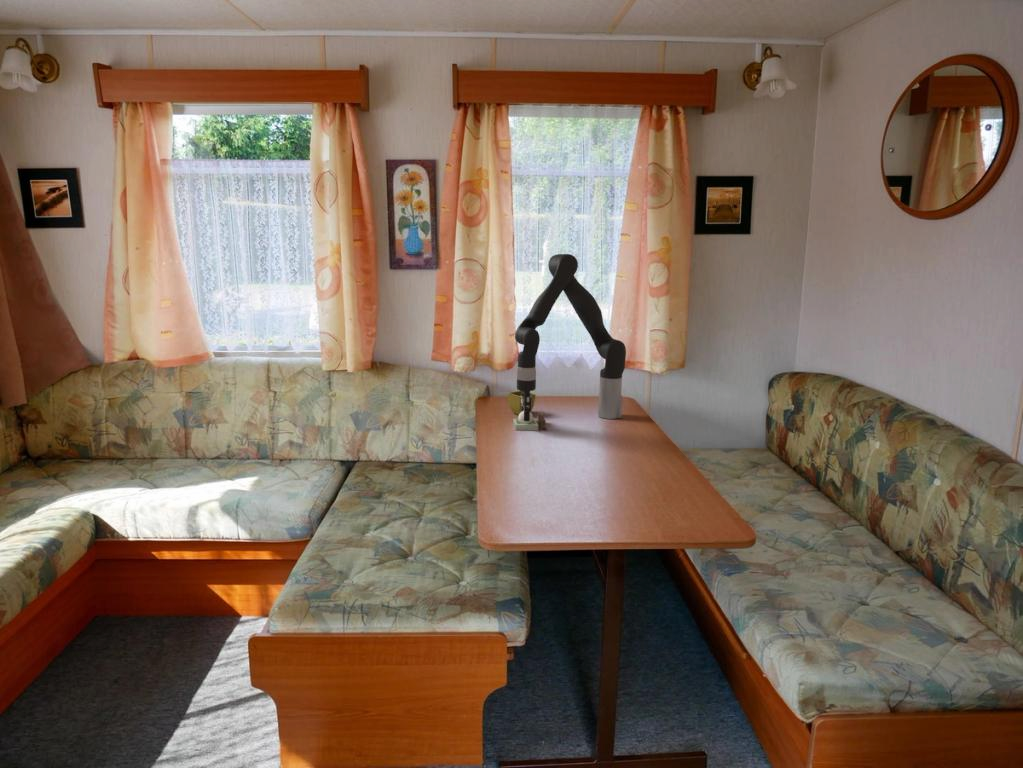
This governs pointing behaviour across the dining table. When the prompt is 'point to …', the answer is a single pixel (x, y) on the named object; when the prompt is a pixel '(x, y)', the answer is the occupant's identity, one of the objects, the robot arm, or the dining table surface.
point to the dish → (525, 425)
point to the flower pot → (518, 401)
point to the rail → (541, 422)
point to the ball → (521, 418)
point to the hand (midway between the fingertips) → (525, 418)
